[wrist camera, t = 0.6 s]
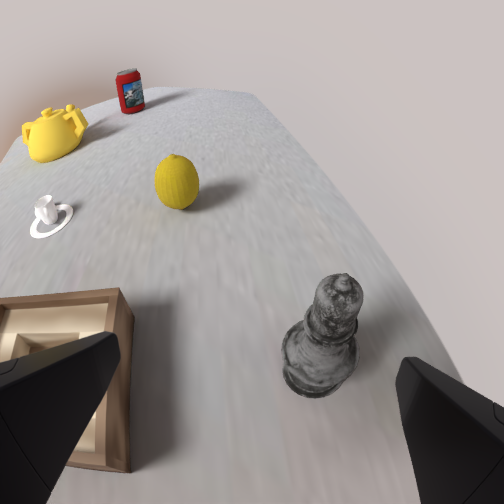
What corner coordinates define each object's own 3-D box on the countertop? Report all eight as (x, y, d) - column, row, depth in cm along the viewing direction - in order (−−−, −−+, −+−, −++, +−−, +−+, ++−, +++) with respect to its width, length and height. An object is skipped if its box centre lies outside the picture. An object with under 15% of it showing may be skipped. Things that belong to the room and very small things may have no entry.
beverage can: (134, 115, 71) (127, 73, 62) (117, 115, 73) (109, 75, 64) (150, 106, 75) (144, 66, 67) (132, 106, 77) (126, 69, 69)
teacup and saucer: (37, 212, 42) (28, 192, 40) (77, 199, 44) (69, 178, 41) (27, 246, 36) (15, 225, 34) (71, 231, 38) (60, 209, 35)
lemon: (154, 209, 40) (141, 157, 35) (187, 192, 43) (179, 141, 37) (175, 227, 37) (163, 171, 32) (210, 208, 40) (204, 153, 34)
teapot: (110, 125, 68) (101, 85, 60) (78, 159, 55) (64, 111, 47) (50, 137, 68) (41, 102, 60) (15, 171, 55) (0, 131, 47)
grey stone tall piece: (265, 380, 24) (269, 288, 15) (300, 328, 27) (319, 223, 19) (329, 413, 21) (379, 340, 13) (358, 356, 25) (408, 260, 16)
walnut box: (130, 473, 17) (105, 465, 14) (-5, 448, 16) (-36, 433, 13) (134, 317, 28) (119, 287, 25) (19, 323, 27) (-2, 298, 24)
